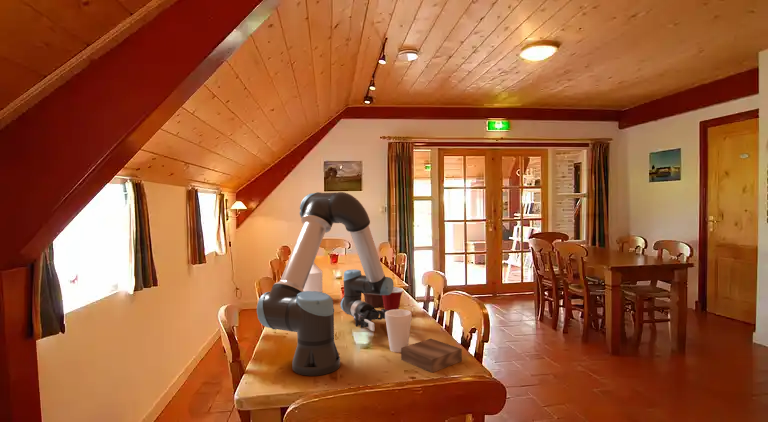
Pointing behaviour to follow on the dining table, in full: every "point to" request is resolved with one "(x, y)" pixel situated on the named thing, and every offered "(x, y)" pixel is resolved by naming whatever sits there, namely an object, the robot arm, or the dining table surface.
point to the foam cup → (398, 328)
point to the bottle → (314, 279)
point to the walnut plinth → (431, 355)
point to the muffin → (374, 300)
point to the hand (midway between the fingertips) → (389, 324)
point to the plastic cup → (392, 299)
